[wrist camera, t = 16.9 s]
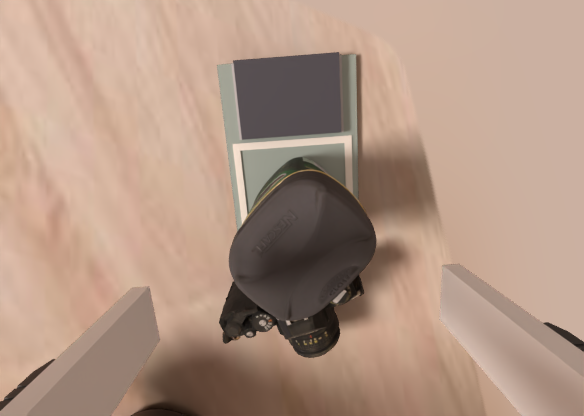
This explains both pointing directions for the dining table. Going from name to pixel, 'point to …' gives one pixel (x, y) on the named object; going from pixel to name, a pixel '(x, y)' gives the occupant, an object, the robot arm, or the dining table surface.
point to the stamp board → (288, 145)
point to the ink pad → (288, 95)
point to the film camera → (286, 322)
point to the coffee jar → (301, 242)
